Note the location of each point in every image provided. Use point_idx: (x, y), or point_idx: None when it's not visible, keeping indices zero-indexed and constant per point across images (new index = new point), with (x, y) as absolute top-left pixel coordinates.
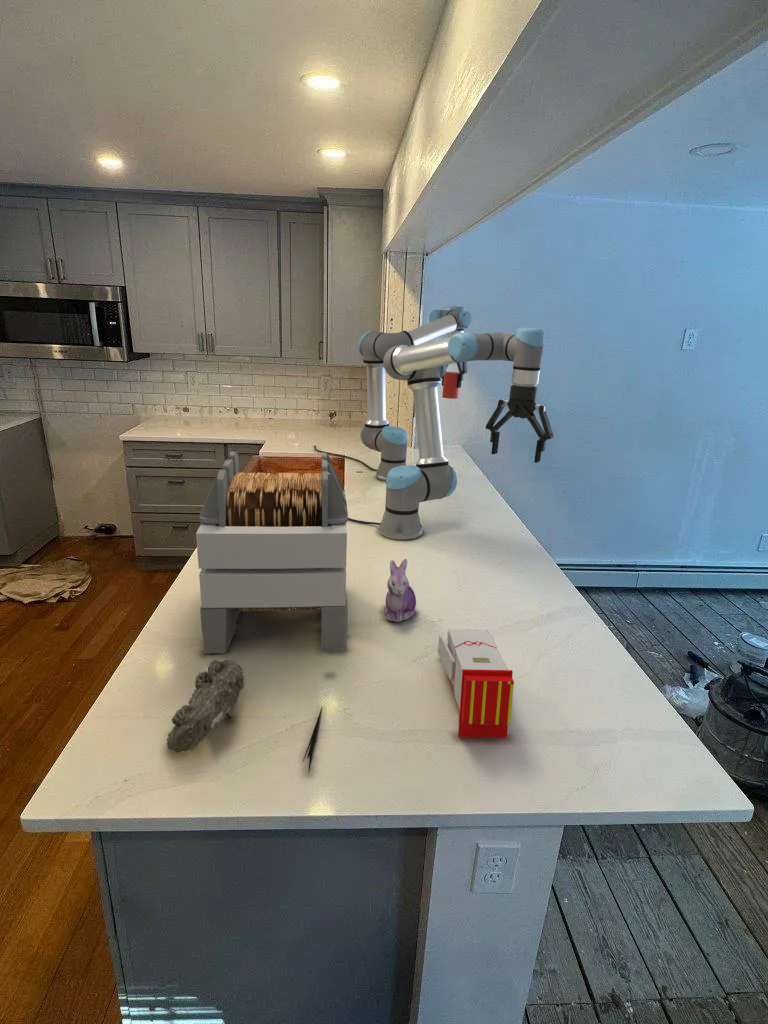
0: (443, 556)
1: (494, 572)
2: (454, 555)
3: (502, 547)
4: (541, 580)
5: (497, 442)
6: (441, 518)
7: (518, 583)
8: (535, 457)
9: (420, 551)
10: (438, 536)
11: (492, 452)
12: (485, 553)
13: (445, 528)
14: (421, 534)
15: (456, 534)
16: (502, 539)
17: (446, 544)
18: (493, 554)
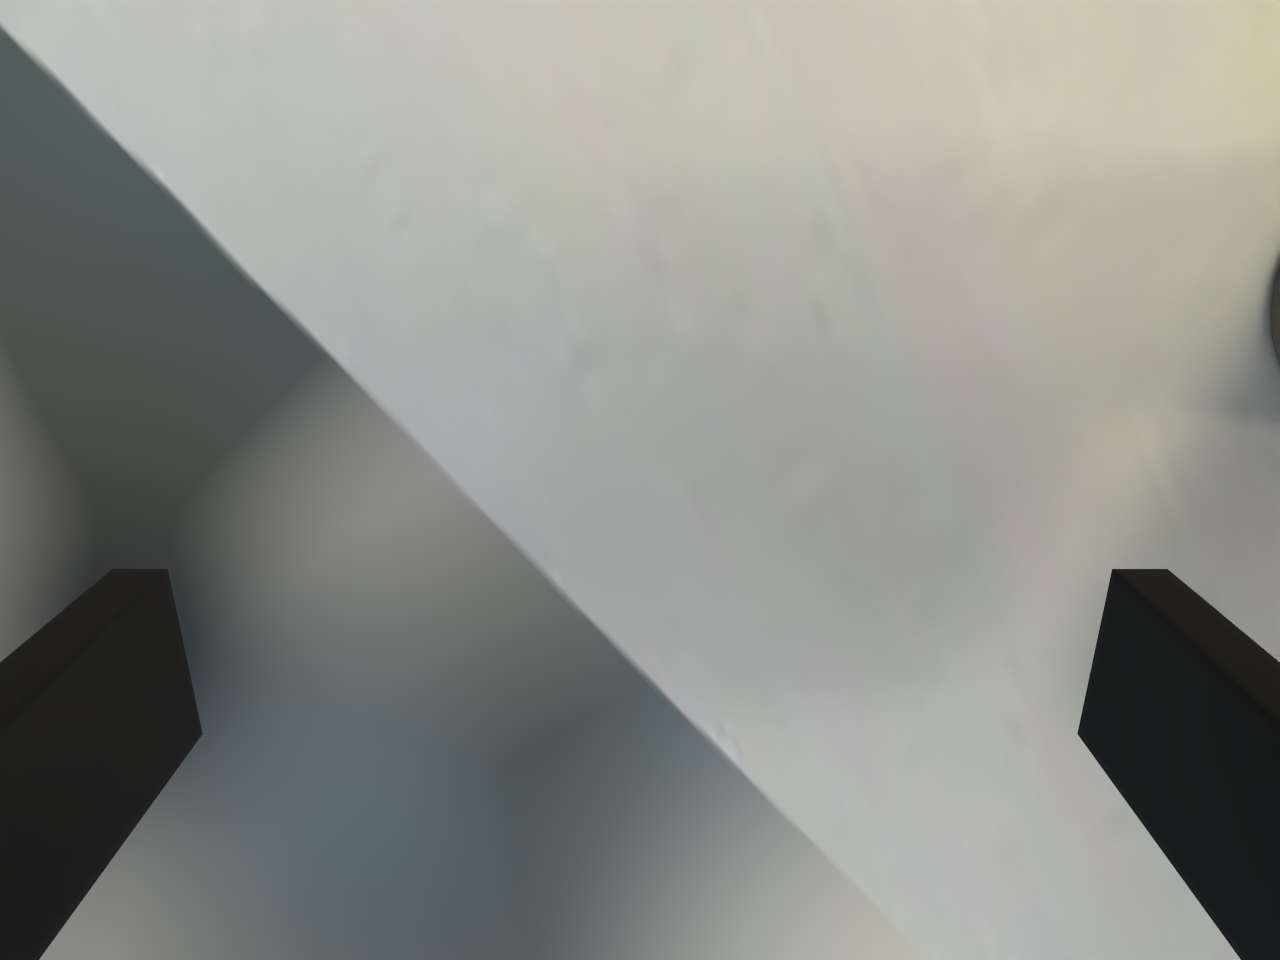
0: (1002, 112)
1: (618, 115)
2: (945, 181)
3: (740, 504)
4: (346, 212)
5: (1231, 862)
6: None
7: (428, 65)
8: (92, 625)
9: (1176, 75)
10: (1156, 395)
11: (1164, 587)
12: (788, 351)
13: (1162, 541)
14: (1273, 333)
15: (1063, 500)
16: (789, 611)
17: (1060, 311)
18: (741, 371)
